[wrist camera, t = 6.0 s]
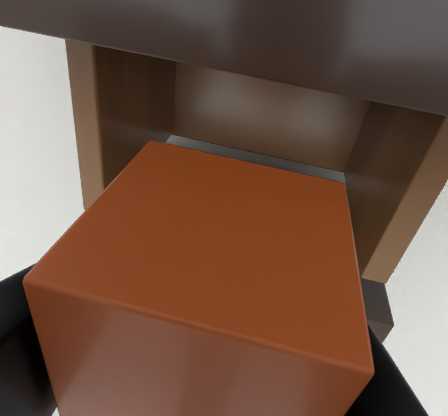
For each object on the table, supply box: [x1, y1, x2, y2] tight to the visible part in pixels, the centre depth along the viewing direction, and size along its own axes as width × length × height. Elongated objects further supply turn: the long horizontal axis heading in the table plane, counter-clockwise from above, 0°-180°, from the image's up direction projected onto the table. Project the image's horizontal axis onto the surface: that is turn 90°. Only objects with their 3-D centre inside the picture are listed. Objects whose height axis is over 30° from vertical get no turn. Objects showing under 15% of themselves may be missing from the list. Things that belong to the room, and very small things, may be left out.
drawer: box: [65, 39, 448, 343], centre depth 13 cm, size 18×12×8 cm, turn 172°
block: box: [23, 140, 374, 416], centre depth 7 cm, size 4×4×4 cm
